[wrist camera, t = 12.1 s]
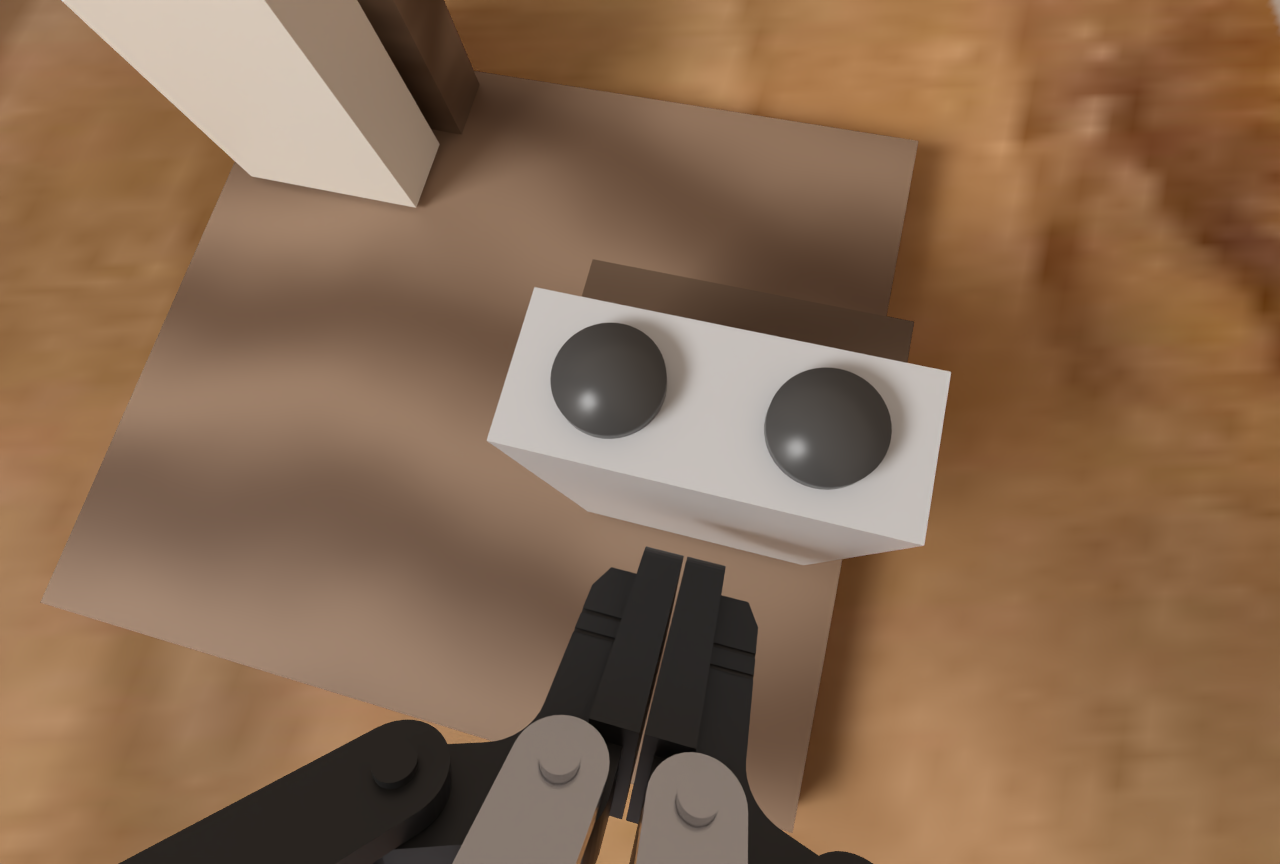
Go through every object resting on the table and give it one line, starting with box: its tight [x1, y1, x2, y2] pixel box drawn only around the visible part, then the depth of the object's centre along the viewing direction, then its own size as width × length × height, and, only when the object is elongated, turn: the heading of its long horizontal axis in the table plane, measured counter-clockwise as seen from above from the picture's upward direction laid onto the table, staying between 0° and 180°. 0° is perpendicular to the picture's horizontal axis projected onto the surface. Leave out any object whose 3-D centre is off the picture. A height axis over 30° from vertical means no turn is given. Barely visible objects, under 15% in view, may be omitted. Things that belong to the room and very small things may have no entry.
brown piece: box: [40, 0, 918, 833], centre depth 17 cm, size 20×22×6 cm
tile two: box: [487, 287, 951, 565], centre depth 13 cm, size 2×6×9 cm, turn 75°
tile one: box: [61, 0, 440, 208], centre depth 16 cm, size 2×6×9 cm, turn 76°
